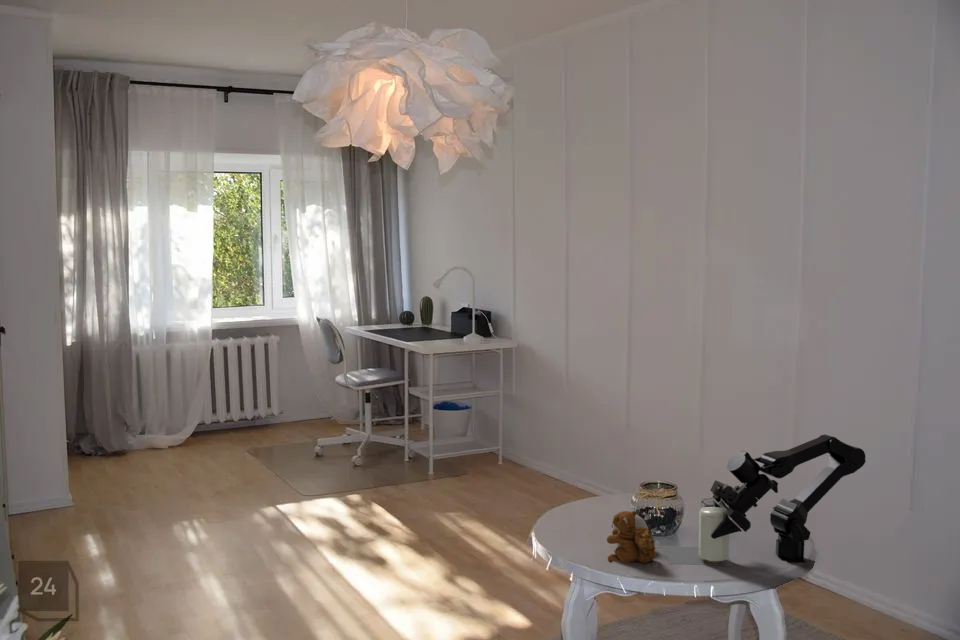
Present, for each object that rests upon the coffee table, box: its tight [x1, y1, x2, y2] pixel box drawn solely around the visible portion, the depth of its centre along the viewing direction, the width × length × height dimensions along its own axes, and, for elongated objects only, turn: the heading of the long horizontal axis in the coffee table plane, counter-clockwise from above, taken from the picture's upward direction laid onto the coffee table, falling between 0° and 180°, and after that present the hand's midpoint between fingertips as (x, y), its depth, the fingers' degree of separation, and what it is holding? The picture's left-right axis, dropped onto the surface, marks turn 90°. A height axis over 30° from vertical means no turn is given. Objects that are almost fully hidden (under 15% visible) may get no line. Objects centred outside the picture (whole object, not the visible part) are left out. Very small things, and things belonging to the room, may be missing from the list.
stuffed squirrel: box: [606, 510, 657, 564], centre depth 244 cm, size 10×14×13 cm
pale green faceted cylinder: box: [698, 506, 730, 561], centre depth 242 cm, size 7×7×12 cm
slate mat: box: [661, 545, 734, 567], centre depth 247 cm, size 17×14×1 cm
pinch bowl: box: [705, 559, 720, 564], centre depth 243 cm, size 4×4×2 cm
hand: (708, 532), depth 242 cm, fingers closed on pale green faceted cylinder, 7 cm apart
